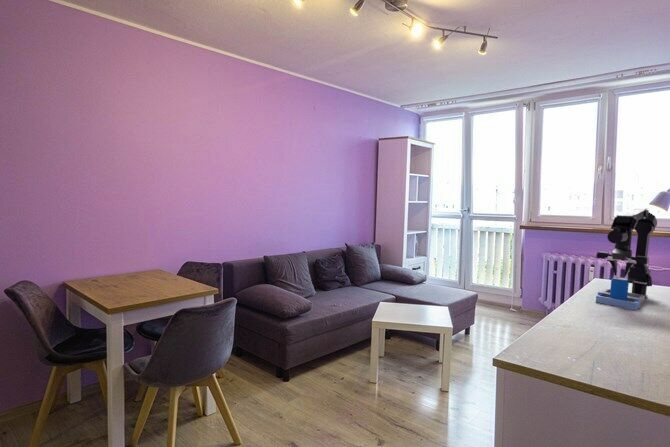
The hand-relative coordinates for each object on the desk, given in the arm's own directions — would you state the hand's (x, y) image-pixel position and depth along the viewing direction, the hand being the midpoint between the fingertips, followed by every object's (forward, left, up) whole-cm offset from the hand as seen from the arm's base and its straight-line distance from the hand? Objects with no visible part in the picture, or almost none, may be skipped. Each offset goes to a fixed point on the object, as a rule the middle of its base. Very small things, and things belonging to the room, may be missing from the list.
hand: (620, 276), depth 176 cm
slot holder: (-6, 0, -13) cm, 14 cm away
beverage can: (0, 0, -13) cm, 13 cm away
